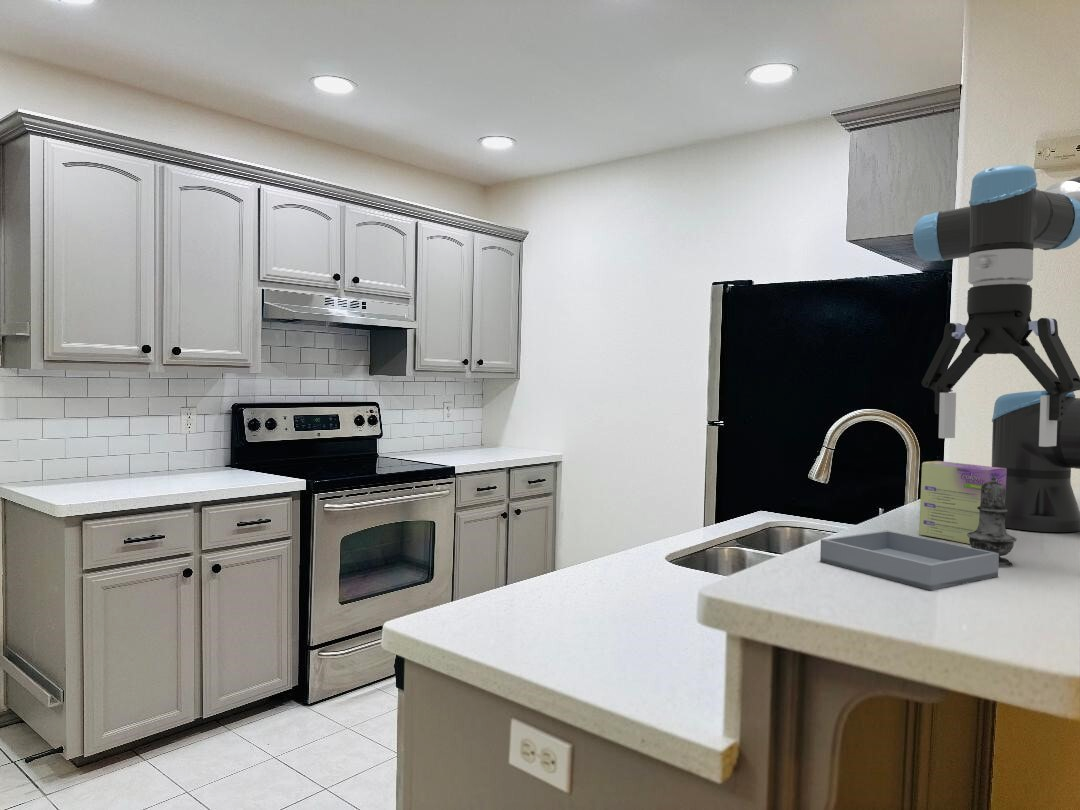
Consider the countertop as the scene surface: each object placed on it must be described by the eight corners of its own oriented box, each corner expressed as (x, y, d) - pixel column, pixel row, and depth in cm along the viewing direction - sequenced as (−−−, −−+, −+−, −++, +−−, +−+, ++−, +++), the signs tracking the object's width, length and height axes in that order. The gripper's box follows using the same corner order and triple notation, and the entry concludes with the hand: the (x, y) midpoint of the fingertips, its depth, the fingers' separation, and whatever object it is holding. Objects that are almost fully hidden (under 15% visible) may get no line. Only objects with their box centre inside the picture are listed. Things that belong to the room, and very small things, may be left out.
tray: (886, 550, 112) (887, 530, 112) (998, 576, 98) (998, 553, 98) (820, 561, 105) (820, 539, 105) (930, 590, 91) (931, 565, 91)
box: (1004, 543, 119) (1007, 467, 118) (985, 548, 115) (988, 469, 115) (937, 531, 127) (939, 460, 127) (918, 535, 124) (920, 462, 123)
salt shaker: (1022, 568, 103) (1026, 478, 102) (974, 566, 104) (977, 477, 103) (1005, 558, 108) (1008, 473, 108) (959, 556, 110) (962, 471, 109)
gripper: (898, 291, 113) (894, 435, 114) (1087, 273, 92) (1081, 451, 93) (930, 294, 117) (926, 434, 118) (1119, 277, 96) (1112, 448, 97)
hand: (994, 442), depth 105 cm, fingers open, 13 cm apart
